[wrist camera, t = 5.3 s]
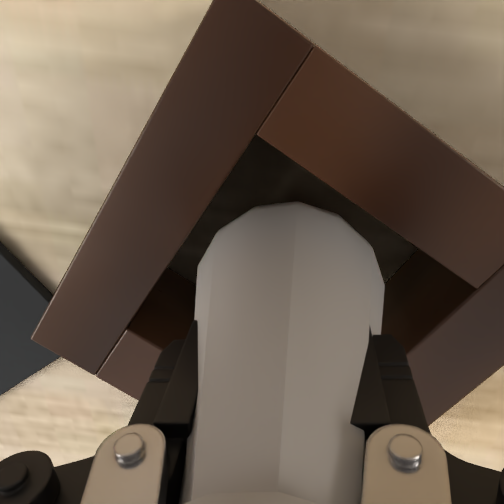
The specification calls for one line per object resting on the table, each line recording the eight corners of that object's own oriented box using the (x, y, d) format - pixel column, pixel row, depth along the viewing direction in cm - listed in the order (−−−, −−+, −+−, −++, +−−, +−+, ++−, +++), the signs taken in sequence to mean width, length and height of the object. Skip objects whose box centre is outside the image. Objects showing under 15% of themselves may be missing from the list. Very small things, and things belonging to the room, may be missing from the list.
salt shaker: (357, 333, 18) (460, 936, 6) (210, 318, 18) (31, 851, 6) (386, 187, 15) (669, 742, 3) (212, 172, 15) (-82, 620, 4)
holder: (86, 276, 19) (28, 339, 15) (248, -7, 14) (225, -24, 10) (323, 418, 21) (327, 508, 17) (541, 214, 16) (618, 274, 12)
